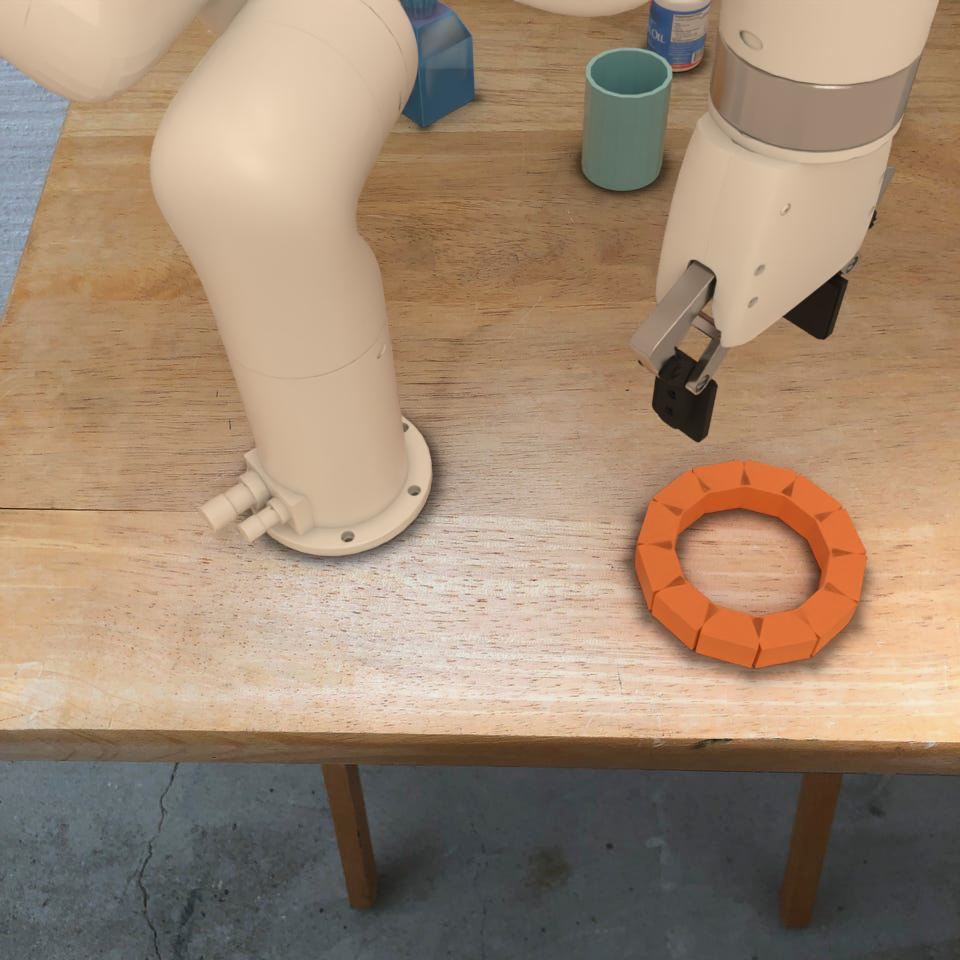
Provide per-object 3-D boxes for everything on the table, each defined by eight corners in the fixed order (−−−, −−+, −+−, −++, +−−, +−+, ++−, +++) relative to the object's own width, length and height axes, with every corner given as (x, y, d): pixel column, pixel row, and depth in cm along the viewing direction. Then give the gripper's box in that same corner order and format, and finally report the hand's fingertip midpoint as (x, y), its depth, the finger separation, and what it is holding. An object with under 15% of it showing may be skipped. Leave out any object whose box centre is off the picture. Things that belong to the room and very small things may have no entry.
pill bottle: (638, 45, 105) (647, -56, 97) (692, 37, 105) (706, -64, 98) (653, 77, 102) (664, -24, 94) (710, 69, 102) (725, -32, 94)
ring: (756, 709, 64) (763, 691, 62) (593, 562, 71) (595, 541, 69) (900, 576, 69) (910, 555, 67) (735, 450, 76) (740, 428, 74)
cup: (621, 202, 91) (629, 108, 84) (564, 164, 95) (568, 70, 87) (677, 166, 94) (690, 72, 87) (620, 131, 97) (628, 37, 90)
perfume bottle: (380, 98, 101) (364, -28, 92) (430, 70, 104) (421, -55, 94) (423, 127, 98) (412, 0, 89) (474, 98, 101) (469, -29, 91)
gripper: (865, -47, 47) (790, 255, 61) (583, 128, 41) (570, 423, 54) (1022, 20, 44) (905, 325, 58) (741, 223, 37) (685, 512, 51)
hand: (743, 372), depth 56 cm, fingers open, 9 cm apart
